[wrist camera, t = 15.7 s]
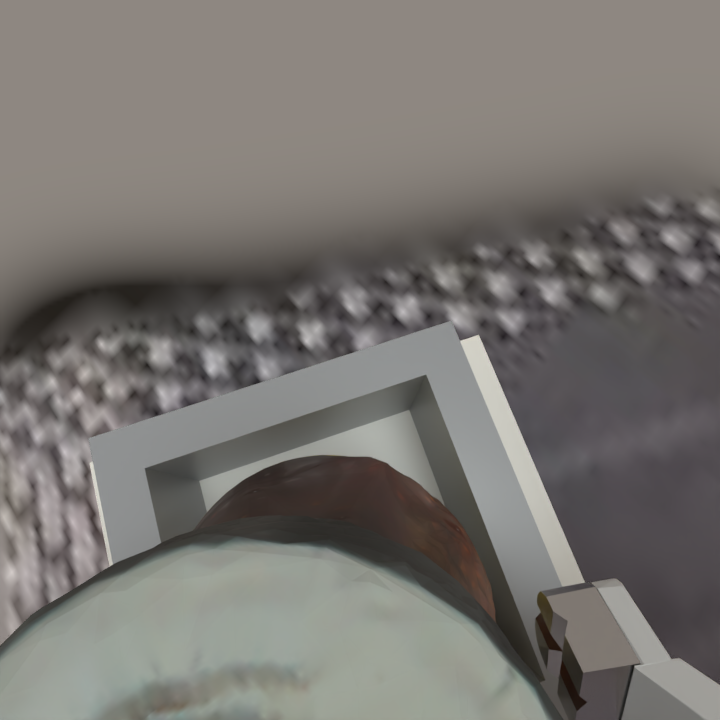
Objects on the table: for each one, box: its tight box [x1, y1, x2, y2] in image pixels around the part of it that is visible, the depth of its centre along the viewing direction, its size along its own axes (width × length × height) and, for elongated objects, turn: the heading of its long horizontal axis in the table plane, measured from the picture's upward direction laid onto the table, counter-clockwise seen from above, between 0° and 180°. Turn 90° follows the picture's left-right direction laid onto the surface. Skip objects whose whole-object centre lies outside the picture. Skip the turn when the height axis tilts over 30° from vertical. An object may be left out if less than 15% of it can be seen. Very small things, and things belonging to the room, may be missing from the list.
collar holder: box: [88, 321, 585, 720], centre depth 19 cm, size 18×14×7 cm
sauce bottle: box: [0, 455, 563, 720], centre depth 12 cm, size 7×6×20 cm
